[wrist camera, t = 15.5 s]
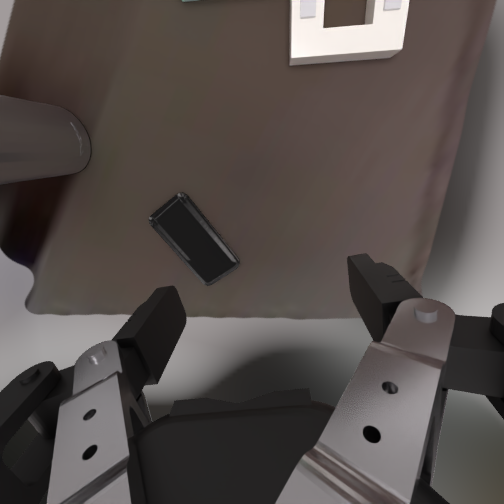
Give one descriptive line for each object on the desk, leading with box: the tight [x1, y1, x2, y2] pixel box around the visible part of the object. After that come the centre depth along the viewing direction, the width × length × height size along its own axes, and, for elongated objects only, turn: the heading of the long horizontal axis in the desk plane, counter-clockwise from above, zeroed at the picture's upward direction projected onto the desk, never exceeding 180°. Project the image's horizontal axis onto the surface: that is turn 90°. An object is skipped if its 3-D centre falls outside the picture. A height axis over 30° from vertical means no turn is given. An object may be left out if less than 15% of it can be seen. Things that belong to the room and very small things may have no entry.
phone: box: [149, 193, 240, 286], centre depth 41 cm, size 8×1×15 cm
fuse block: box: [289, 0, 409, 66], centre depth 27 cm, size 12×10×3 cm
